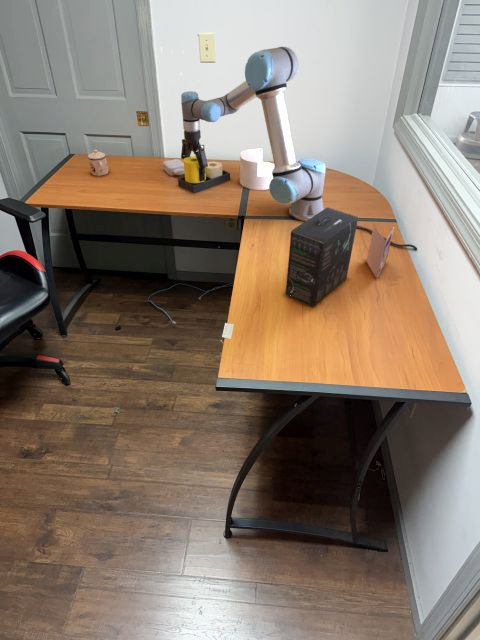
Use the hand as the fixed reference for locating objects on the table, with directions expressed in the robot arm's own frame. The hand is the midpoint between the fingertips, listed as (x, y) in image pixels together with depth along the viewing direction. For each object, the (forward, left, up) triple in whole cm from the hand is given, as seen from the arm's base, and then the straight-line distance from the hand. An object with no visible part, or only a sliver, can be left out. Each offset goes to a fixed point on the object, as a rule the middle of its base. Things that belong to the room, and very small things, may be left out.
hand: (195, 177), depth 212 cm
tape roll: (0, 0, -1) cm, 1 cm away
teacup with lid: (+46, +26, -5) cm, 53 cm away
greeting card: (-102, -1, -5) cm, 102 cm away
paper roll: (0, -12, -4) cm, 12 cm away
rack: (0, -6, -4) cm, 7 cm away
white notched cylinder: (-18, -27, -5) cm, 33 cm away
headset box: (-95, +23, -5) cm, 98 cm away
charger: (+19, -3, -5) cm, 20 cm away
